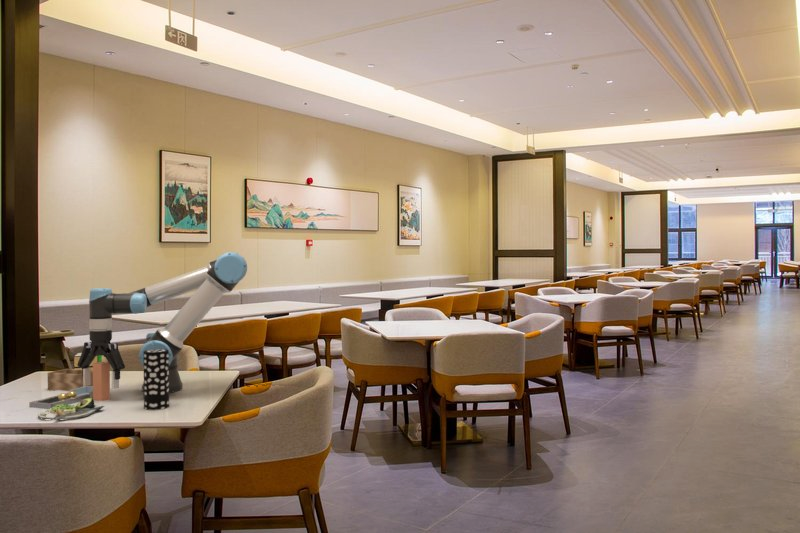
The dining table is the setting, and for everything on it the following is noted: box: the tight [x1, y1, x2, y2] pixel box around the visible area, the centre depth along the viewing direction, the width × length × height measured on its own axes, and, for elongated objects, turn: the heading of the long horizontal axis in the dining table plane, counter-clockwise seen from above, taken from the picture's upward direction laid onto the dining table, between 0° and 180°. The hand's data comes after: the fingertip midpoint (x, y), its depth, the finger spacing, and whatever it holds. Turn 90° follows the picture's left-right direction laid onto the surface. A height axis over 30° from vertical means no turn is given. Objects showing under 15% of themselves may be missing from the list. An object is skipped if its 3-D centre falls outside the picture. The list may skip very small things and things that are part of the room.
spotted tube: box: [143, 349, 170, 411], centre depth 221 cm, size 8×8×20 cm
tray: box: [69, 386, 93, 399], centre depth 239 cm, size 10×8×3 cm
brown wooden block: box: [47, 368, 93, 392], centre depth 253 cm, size 16×9×7 cm, turn 70°
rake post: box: [92, 361, 111, 402], centre depth 232 cm, size 4×4×14 cm
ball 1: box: [58, 392, 68, 401], centre depth 228 cm, size 3×3×3 cm
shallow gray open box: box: [28, 392, 90, 410], centre depth 227 cm, size 10×17×2 cm, turn 160°
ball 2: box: [67, 391, 77, 399], centre depth 232 cm, size 3×3×3 cm
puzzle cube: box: [72, 352, 103, 371], centre depth 281 cm, size 10×10×10 cm
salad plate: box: [37, 398, 105, 420], centre depth 211 cm, size 19×18×5 cm
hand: (101, 387), depth 232 cm, fingers open, 13 cm apart
